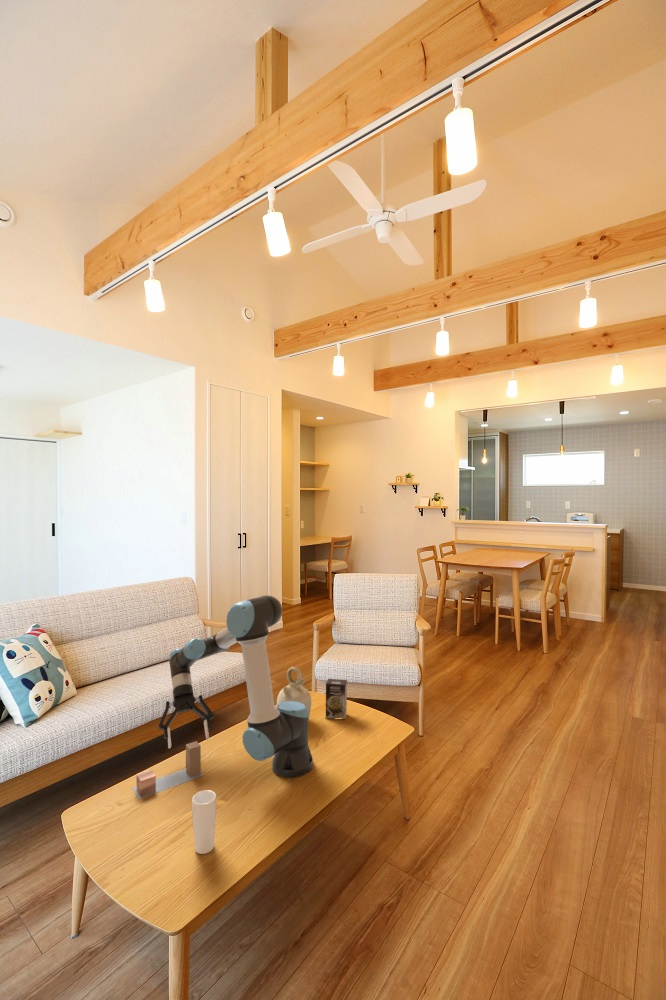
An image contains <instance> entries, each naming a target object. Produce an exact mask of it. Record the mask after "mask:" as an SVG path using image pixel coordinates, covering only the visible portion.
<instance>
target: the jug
mask: <svg viewBox="0 0 666 1000" xmlns="http://www.w3.org/2000/svg"><path fill="white" fill-rule="evenodd" d="M293 672H295V675H296V677H297V680H294V679H293V676H292V673H293ZM286 679H287V682H288V683H289V684H287V685H286V686H284V687H282V689H280V690H279V692H278V695H277V698H276V706H277V705H278V704H279V703H282V702H287V701H293V702H299V703H302V704H304V705H305V706H306V707H307V709H308V721H309V720H310V715H311V708H312V697H311V693H310V692H309V689H308V688H306V687H305V686H304V685H305V683H306V681H307V680H306V679H304V678H303V676H302V672H301V670H300V669H299V668H298V667H296V666H291V667H290V668H288V670H287V672H286Z"/></svg>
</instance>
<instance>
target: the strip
mask: <svg viewBox="0 0 666 1000" xmlns="http://www.w3.org/2000/svg"><path fill="white" fill-rule="evenodd" d="M201 749H202V748H201V744H200V743H199V742H198V740H196V741H192V742H190V743H187V744H185V768H184V769H181V770H177V771H175V772H172V773H169V774H167V775H164V776H160V777H158V778H156V790H155V791H153V792H150V793H147V794H144V795H142V796H140V794H139V792H138V790H137V785H136V786H132V789H133V792H134V793H135V796H136V797H137V799H138V800H141V799H144V798H147V797H150V796H151V795H155V794H158V793H160V792H163V791H166V790H167V789H168V790H169V789H171V788H174V787H176V786H179V785H182V784H184V783H187V782H190V781H192V780H194V779H197V778H201V777H203V774H202V771H201V770H202V769H201V767H202V766H201V765H202V763H201V757H202V755H201V753H202V752H201Z"/></svg>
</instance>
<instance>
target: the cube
mask: <svg viewBox="0 0 666 1000" xmlns="http://www.w3.org/2000/svg"><path fill="white" fill-rule="evenodd" d="M135 779H136V786H137V790H138V792H139V794H140V796H142V795H144V794H147V793H150V792H153V791H155V790H156V779H157V778H156V774H155V772H154V771H153V769H152V768H150V769H147V770H143V771H141V772H138V773H136V778H135Z"/></svg>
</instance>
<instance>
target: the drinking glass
mask: <svg viewBox="0 0 666 1000" xmlns="http://www.w3.org/2000/svg"><path fill="white" fill-rule="evenodd" d="M191 801H192V803H191V815H192V825H193V835H194V836H193V837H194V849H195V850H194V851H195V852H196V853H197V854H199V855H207V854H208V853H210V852H211V851H212V850H213V849H214V847H215V833H216V832H215V829H216V822H217V821H216V820H217V794H216V793H215V791H213V790H209V789H205V790H200V791H198V792H196V793H195V794H194V795H193V796H192V798H191Z"/></svg>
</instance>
